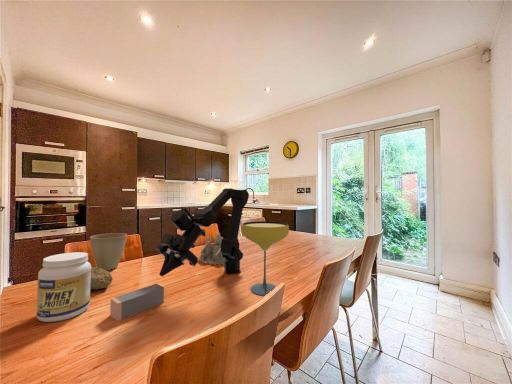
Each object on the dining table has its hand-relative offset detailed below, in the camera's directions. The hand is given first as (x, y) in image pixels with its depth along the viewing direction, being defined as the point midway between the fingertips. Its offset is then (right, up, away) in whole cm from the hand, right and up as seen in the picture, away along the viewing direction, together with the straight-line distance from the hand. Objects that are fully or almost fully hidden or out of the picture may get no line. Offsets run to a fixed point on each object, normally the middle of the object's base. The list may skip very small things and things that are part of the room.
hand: (160, 275), depth 75 cm
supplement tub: (-25, -8, -9) cm, 28 cm away
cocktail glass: (+36, -9, +9) cm, 38 cm away
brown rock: (-32, -9, +11) cm, 35 cm away
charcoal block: (0, -6, 0) cm, 6 cm away
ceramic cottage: (+9, -10, +46) cm, 48 cm away
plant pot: (-39, -9, +31) cm, 51 cm away
